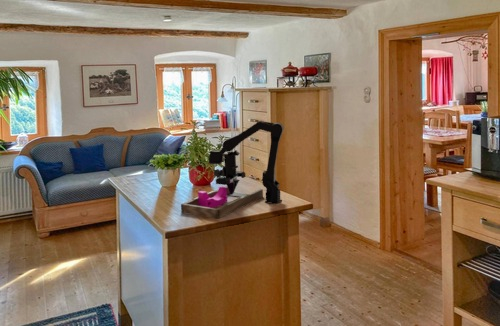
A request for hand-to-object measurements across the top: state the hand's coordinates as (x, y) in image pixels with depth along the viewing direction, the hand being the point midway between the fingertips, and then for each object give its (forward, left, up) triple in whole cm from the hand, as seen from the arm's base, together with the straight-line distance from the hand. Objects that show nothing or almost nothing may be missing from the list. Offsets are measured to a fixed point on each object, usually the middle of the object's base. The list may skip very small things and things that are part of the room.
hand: (231, 194), depth 228 cm
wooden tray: (0, +6, -4) cm, 7 cm away
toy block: (+4, +9, -4) cm, 11 cm away
